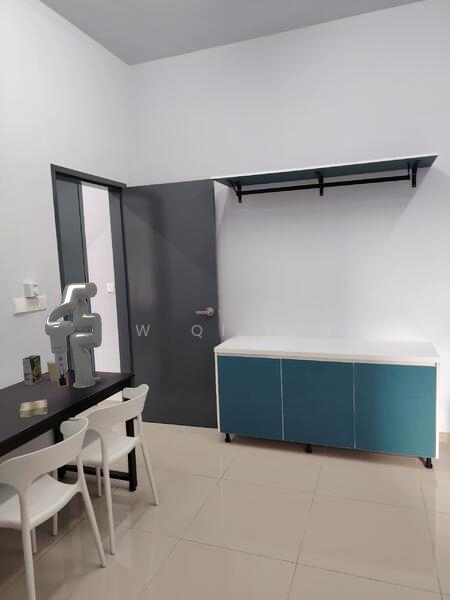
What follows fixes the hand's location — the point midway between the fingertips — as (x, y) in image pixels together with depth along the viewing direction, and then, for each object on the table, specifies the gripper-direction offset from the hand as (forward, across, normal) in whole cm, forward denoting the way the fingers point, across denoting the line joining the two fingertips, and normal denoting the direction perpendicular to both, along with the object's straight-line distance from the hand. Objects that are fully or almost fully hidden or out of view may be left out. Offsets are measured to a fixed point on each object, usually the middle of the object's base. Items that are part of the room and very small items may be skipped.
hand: (62, 383), depth 215 cm
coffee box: (+14, +54, +16) cm, 58 cm away
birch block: (+12, -1, +14) cm, 19 cm away
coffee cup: (+14, +54, +3) cm, 56 cm away
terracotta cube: (+1, 0, 0) cm, 1 cm away
